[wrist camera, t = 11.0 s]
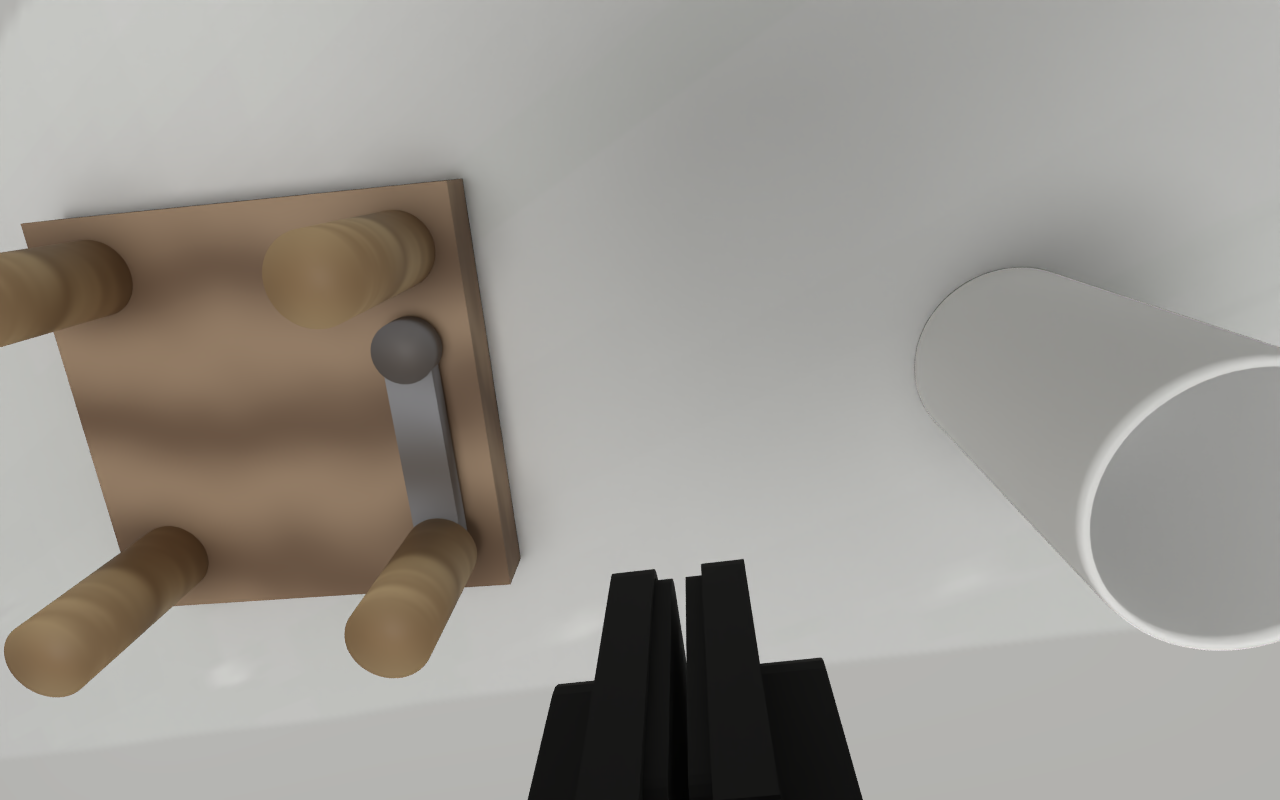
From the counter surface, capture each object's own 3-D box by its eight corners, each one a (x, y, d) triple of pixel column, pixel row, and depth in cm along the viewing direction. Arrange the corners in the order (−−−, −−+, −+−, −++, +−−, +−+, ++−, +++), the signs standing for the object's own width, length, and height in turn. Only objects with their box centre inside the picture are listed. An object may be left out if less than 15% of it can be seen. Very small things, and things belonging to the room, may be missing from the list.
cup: (880, 404, 37) (1019, 581, 22) (975, 235, 35) (1204, 302, 20) (1040, 476, 38) (1283, 696, 23) (1143, 314, 36) (1492, 439, 20)
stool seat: (63, 218, 37) (-173, 245, 26) (462, 178, 35) (374, 190, 25) (168, 582, 42) (4, 720, 32) (520, 558, 40) (466, 695, 30)
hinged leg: (368, 319, 34) (282, 366, 27) (443, 312, 34) (377, 358, 27) (418, 575, 38) (354, 680, 30) (487, 570, 38) (439, 675, 30)
